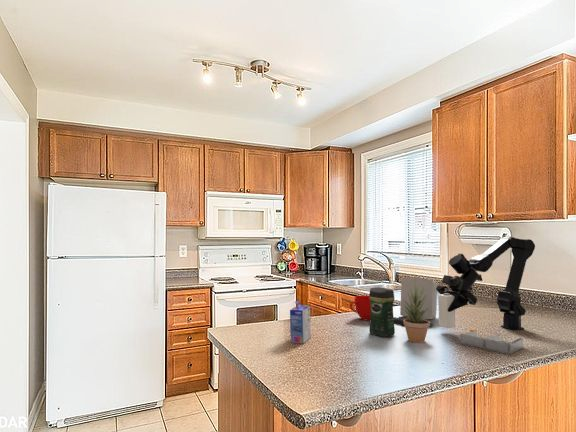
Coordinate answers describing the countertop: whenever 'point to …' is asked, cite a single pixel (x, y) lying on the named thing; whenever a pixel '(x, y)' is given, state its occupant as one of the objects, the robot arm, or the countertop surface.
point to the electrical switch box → (429, 299)
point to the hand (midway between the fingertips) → (443, 309)
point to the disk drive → (400, 319)
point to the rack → (490, 342)
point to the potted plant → (416, 316)
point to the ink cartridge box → (300, 323)
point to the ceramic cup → (362, 307)
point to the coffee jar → (381, 312)
